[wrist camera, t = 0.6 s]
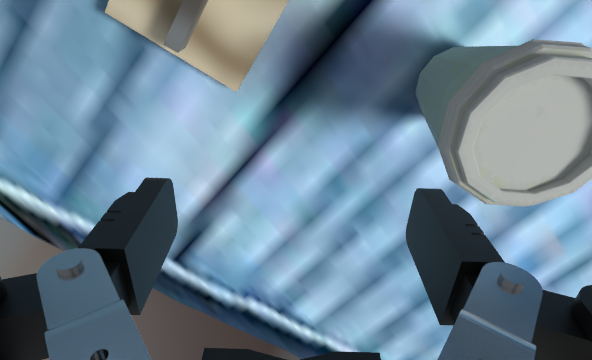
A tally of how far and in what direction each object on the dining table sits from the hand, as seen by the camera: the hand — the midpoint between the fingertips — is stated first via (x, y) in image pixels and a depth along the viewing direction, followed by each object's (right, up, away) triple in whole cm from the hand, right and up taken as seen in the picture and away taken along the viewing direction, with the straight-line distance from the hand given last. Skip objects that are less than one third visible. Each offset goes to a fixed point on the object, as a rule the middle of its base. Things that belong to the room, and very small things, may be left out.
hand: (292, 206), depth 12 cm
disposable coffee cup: (+14, +10, +22) cm, 28 cm away
